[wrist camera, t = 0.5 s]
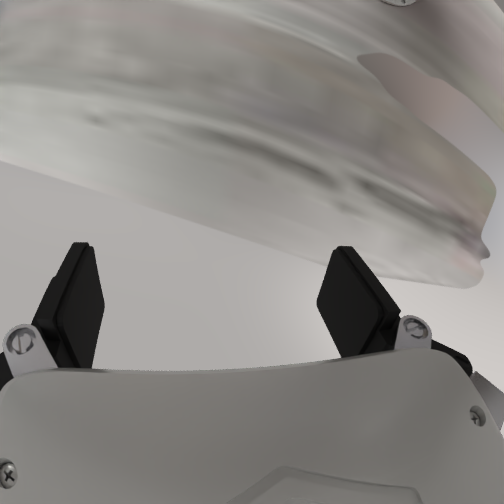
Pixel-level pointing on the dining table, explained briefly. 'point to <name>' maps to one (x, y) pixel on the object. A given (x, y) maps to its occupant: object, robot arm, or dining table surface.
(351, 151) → the dining table surface
